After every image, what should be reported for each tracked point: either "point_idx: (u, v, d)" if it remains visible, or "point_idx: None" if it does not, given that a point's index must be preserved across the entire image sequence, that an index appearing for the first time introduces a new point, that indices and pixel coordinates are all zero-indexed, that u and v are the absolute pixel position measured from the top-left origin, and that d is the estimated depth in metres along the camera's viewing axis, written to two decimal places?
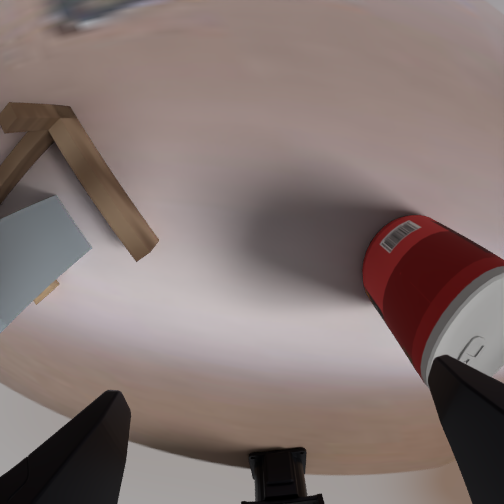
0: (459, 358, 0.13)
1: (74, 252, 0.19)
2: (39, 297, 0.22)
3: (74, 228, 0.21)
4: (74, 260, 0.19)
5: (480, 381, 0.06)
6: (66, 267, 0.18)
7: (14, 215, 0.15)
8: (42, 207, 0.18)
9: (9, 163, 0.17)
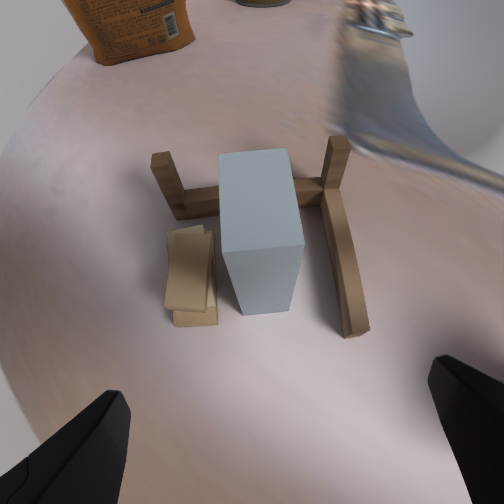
0: None
1: None
2: (186, 319, 0.21)
3: None
4: (290, 298, 0.20)
5: (480, 381, 0.06)
6: None
7: None
8: None
9: None
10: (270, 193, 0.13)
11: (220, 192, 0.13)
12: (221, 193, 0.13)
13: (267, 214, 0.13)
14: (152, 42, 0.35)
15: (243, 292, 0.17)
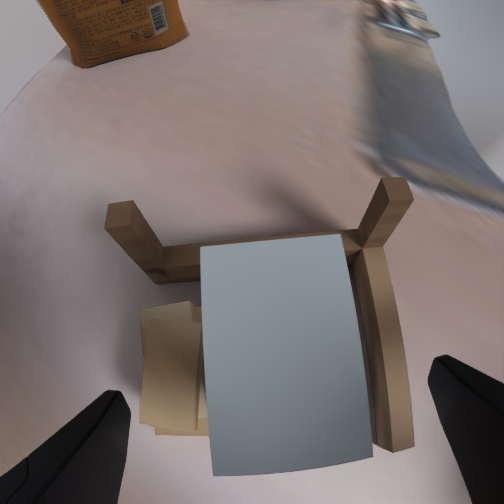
0: None
1: None
2: (172, 429, 0.14)
3: None
4: None
5: (480, 381, 0.06)
6: None
7: None
8: None
9: None
10: (310, 349, 0.06)
11: (205, 344, 0.06)
12: (207, 347, 0.06)
13: (304, 400, 0.06)
14: (136, 39, 0.28)
15: None
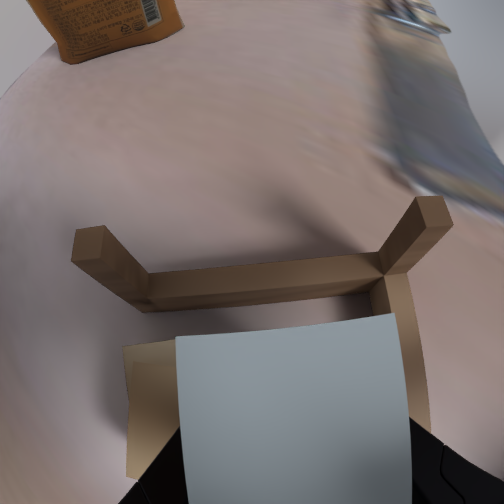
0: None
1: None
2: None
3: None
4: None
5: None
6: None
7: None
8: None
9: (290, 272, 0.14)
10: (343, 490, 0.03)
11: (190, 483, 0.03)
12: (193, 488, 0.03)
13: None
14: (127, 31, 0.25)
15: None
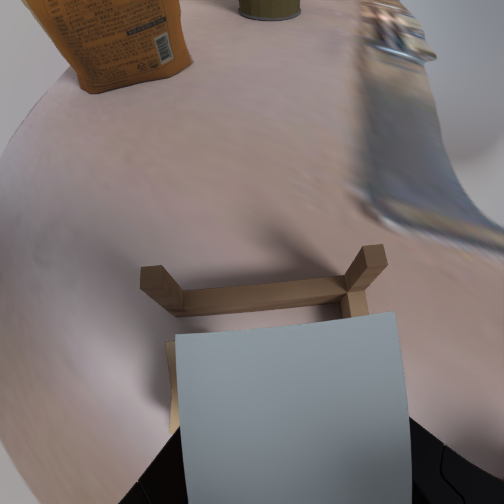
0: None
1: None
2: None
3: None
4: None
5: None
6: None
7: None
8: None
9: (281, 290, 0.20)
10: (342, 489, 0.03)
11: (189, 482, 0.03)
12: (192, 486, 0.03)
13: None
14: (143, 69, 0.31)
15: None
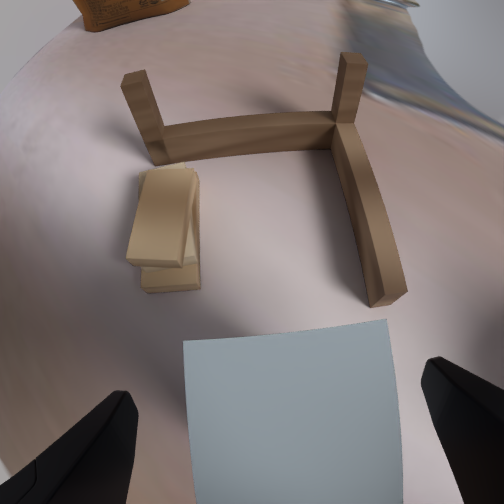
0: None
1: None
2: (157, 280, 0.16)
3: None
4: None
5: (473, 384, 0.06)
6: None
7: None
8: None
9: (266, 119, 0.18)
10: (338, 482, 0.04)
11: (196, 477, 0.04)
12: (199, 481, 0.04)
13: None
14: (144, 4, 0.30)
15: None
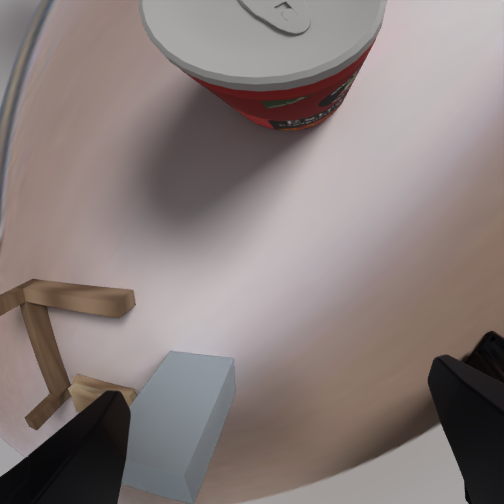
0: (262, 19, 0.07)
1: (218, 374, 0.20)
2: None
3: (206, 358, 0.22)
4: (222, 380, 0.20)
5: (480, 381, 0.06)
6: (218, 391, 0.19)
7: (142, 392, 0.18)
8: (164, 368, 0.21)
9: (33, 342, 0.23)
10: (142, 474, 0.13)
11: (147, 491, 0.13)
12: (148, 491, 0.13)
13: (161, 481, 0.12)
14: None
15: (217, 436, 0.18)
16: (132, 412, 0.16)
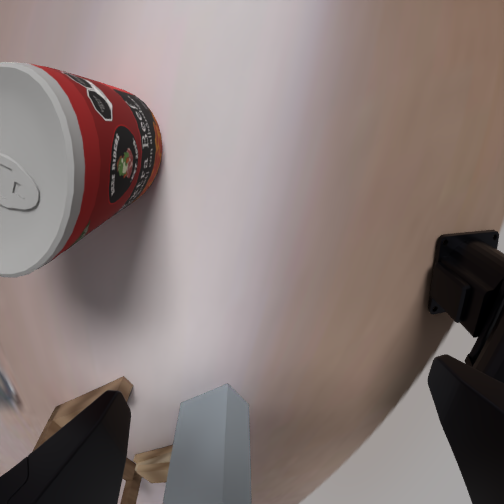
0: (13, 209, 0.08)
1: (220, 405, 0.22)
2: None
3: (208, 395, 0.24)
4: (224, 409, 0.22)
5: (480, 381, 0.06)
6: (224, 420, 0.20)
7: (173, 450, 0.20)
8: (181, 421, 0.23)
9: None
10: None
11: None
12: None
13: None
14: None
15: (246, 453, 0.20)
16: (172, 470, 0.18)
